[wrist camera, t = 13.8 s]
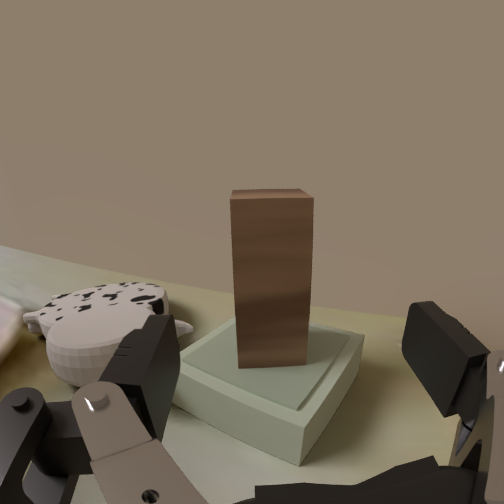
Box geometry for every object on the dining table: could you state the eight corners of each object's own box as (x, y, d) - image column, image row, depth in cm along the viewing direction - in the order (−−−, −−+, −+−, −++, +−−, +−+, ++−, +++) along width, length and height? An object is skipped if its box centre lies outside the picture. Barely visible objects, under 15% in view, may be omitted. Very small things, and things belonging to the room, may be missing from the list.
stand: (298, 466, 16) (304, 425, 15) (171, 402, 22) (162, 360, 21) (357, 373, 25) (365, 332, 24) (251, 341, 31) (250, 303, 30)
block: (305, 365, 20) (313, 197, 17) (238, 368, 20) (230, 199, 17) (296, 331, 25) (299, 188, 21) (239, 333, 25) (232, 190, 21)
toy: (-13, 394, 19) (189, 409, 20) (-32, 348, 18) (176, 352, 19) (71, 317, 40) (204, 308, 42) (64, 286, 40) (199, 273, 41)
